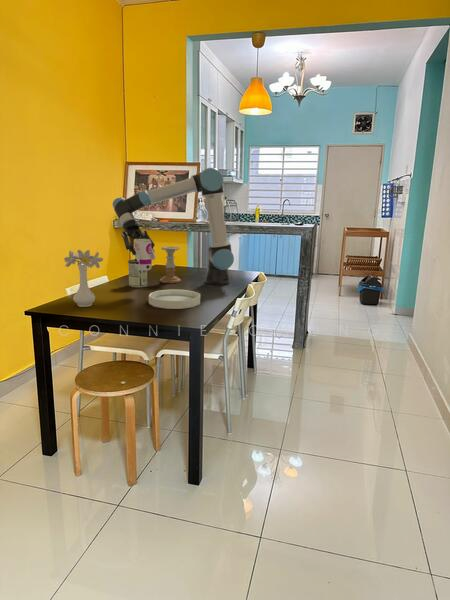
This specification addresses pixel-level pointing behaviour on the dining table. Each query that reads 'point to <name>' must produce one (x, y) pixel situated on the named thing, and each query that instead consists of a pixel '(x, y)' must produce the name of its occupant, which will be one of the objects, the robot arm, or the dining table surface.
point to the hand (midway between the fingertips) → (146, 258)
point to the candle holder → (170, 266)
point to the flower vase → (83, 275)
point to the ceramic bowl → (174, 299)
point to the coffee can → (136, 275)
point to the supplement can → (143, 254)
